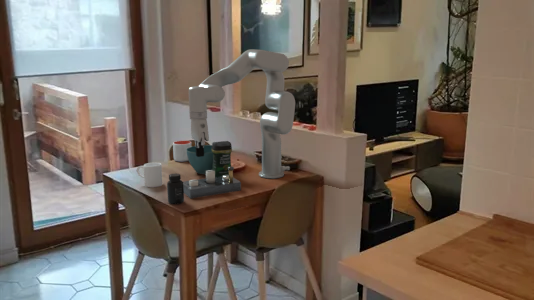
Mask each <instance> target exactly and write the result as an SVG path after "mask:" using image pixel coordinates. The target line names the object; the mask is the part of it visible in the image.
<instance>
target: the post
mask: <svg viewBox="0 0 534 300" xmlns="http://www.w3.org/2000/svg"><path fill="white" fill-rule="evenodd" d="M234 168H235V167H234V166H232V165H231V166H230V167H228V170H229V183H233V178H234V172H233V171H234Z"/></svg>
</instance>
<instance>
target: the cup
mask: <svg viewBox="0 0 534 300" xmlns="http://www.w3.org/2000/svg"><path fill="white" fill-rule="evenodd" d="M189 147H192V141H189V140H177V141H173V142H172V149H173V150H172V154H173V160H174V161H175V162H179V163H183V162H184V163H185V162H189V160H188V156H187V151H186V149H187V148H189Z"/></svg>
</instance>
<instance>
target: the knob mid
mask: <svg viewBox="0 0 534 300" xmlns="http://www.w3.org/2000/svg"><path fill="white" fill-rule="evenodd" d="M205 178H206V183H215V171H214V170H208V171H206V174H205Z"/></svg>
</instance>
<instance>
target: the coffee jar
mask: <svg viewBox="0 0 534 300" xmlns="http://www.w3.org/2000/svg"><path fill="white" fill-rule="evenodd" d="M232 150H233V147H232V142H231V141H228V140H222V141H214V142H212V153H213V168H212V170H214V171H215V177H219V176H223V175H229V170H228V167H230V166H232V160H231V154H232V152H233V151H232Z"/></svg>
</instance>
